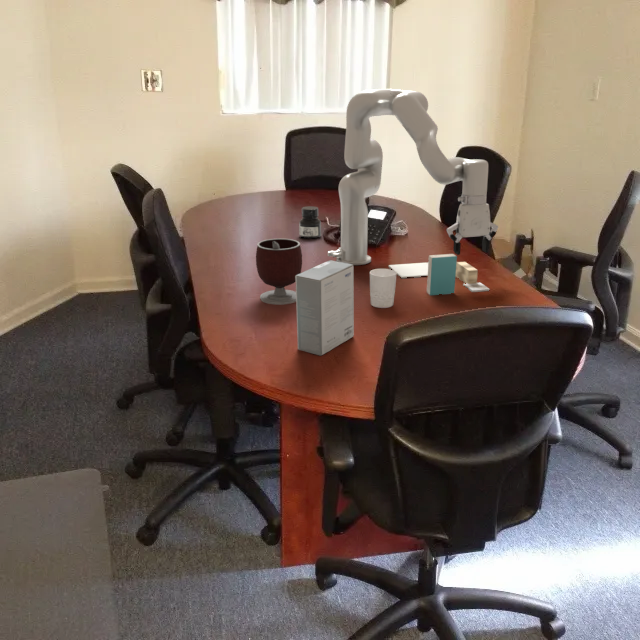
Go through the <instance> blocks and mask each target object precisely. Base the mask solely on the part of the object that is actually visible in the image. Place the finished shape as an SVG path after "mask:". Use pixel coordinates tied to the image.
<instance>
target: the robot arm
mask: <svg viewBox="0 0 640 640" xmlns="http://www.w3.org/2000/svg"><path fill="white" fill-rule="evenodd" d="M428 109H429V101H428V99H427V97H426V95H424V93H422V92H420V91H415V90H405V89H404V90H403V89H402V90H401V89H392V88H373V89H365V90H362V91H360V92H357V93H356V94H355V95H353V96H352V97H351V98H350V99H349V102H348V104H347V107H346V117H345V118H346V122H345V123H346V125H345V126H346V128H345V129H346V130H345V138H344V139H345V141H344V156H343V157H344V163H345V165H346V167H348V168H349V169H351V170H357V171H354V172H351V173H348V174H346V175H344V176H343V177H342V178H341V180H340V181H339V182H338V183H339V184H338V196H339V202H340V247H338V249H335V250H327V257H332V258H336V260H335V261H337V262H343V263H348V264H353V266H361V265H362V266H364V265H366V264H369V263H371V262H372V257H371V256H370V255H368V225H369V224H368V221H369V220H368V219H369V218H368V217H369V216H368V215H369V213H368V212H369V210H368V205H367V203H366V198H369V197H371V196H374V195H375V194H377V193H378V191H379V190H380V187H381V184H382V183H381V181H382V171H383V160H384V159H383V158H384V156H383V153H384V152H383V149H382V147H381V144H380V143H379V142H378V141H377V140H375V139H374V138H371V137H372V135H371V134H372V125H371V124H372V123H371V121H370V118H372V117H379V116H394V117H396V119H397V120H398V122H399V123H400V124H401V126H402V127H403V128H404V130H405V131H406V132H407V133H408V135H409V137H411V139H412V141H413V142H414V143H415V146H416V147H415V148H416V150H417V151H416V152H417V154H418V157H419V160H420V162H421V164H422V165H423V167H424V168H425V170H426V171H427V172H428V173H429V175H430V176H431V178H432V179H433V180H434V181H435V182H437V183H438V184H440V185H443V186H445V185H449V184H450V185H451V184H453V183H456V182H460V181H461V182H462V191H461V192H462V193H461V196H457V197H458V198H457V202H460V204H459V206H458V210H457V215H456V222H455V223H454V224H451V226H449V227H447V228H446V233H447V235H448V237H449V238H450V240H452V241H453V246H452V247H453V254H454V255H456V256H459V255H461V248H462V246H461V244H462V243H461V242H460V241H461V240H462V239H463V238H473V237H483V238H482V241H481V243H482V245H481V251H482V252H485V254H486V253H489V250H490V243H491V242H490V241H491V240H492V238H493V237H494V236H495V235H496V232H497V230H498V228H499V225H498V224H495V223H493V222H492V221H491V212H490V204H489V203H487V192H488V179H489V162H488V161H487V160H485V159H480V158H479V159H477V158H476V159H475V158H473V159H468V158H464V157H461V156H460V157H459V156H457V157H456V156H455V157H450V158H449V157H448V158H447V157H446V156H445V154H444V153H443V152H442V150H441V148H440V147H439V144H438V141H437V134H438V130H439V129H438V125H437V124H436V122H435V121H434V120H433V118H432V117H431V116H430V115H429V114H428ZM454 231H455V233H456V234H455V235H454V233H453V232H454Z"/></svg>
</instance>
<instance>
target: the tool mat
mask: <svg viewBox="0 0 640 640" xmlns="http://www.w3.org/2000/svg"><path fill="white" fill-rule="evenodd" d="M388 269H392V270H394V271H396V273H397V274H396V276H398V277H399V276H400V277H401V279H408V278H407V277H414V278H422V277H421V276H428V262H415V263H400V264H389V265H388ZM400 277H399V278H400Z"/></svg>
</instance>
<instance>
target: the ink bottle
mask: <svg viewBox="0 0 640 640" xmlns="http://www.w3.org/2000/svg"><path fill="white" fill-rule="evenodd" d="M301 217H302V218H301V219H300V220H299V225H298V228H299V229H298V232H299V233H298V234H299V237H300V236H301V237H305V238H304V239H306V238H315V239H317V238H316V237H319V238H320V237H322V221H321V220H320V219H319V207H318V206H307V205H306V206H303V207H301ZM301 237H300V238H301Z"/></svg>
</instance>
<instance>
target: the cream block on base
mask: <svg viewBox="0 0 640 640" xmlns="http://www.w3.org/2000/svg"><path fill="white" fill-rule="evenodd" d="M478 272H479V271H478V269H477V268H475V267H474V266H472V265H471V264H469V263H467V262H466V261H457V263H456V276H455V278H457V279H458V278H459V279H458V280H459V281H461V282H462V281H463V282H462V286H463V287H464V286H465V288H466V289H467V288H468V289H467V290H468V291H470V292H471V293H478V292H479V293H481V292H490V291H489V290H491V289H490V288H489V287H488V286H487V285H485V284H483V283H482V282H478V274H479V273H478ZM465 283H466V284H465Z"/></svg>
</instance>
